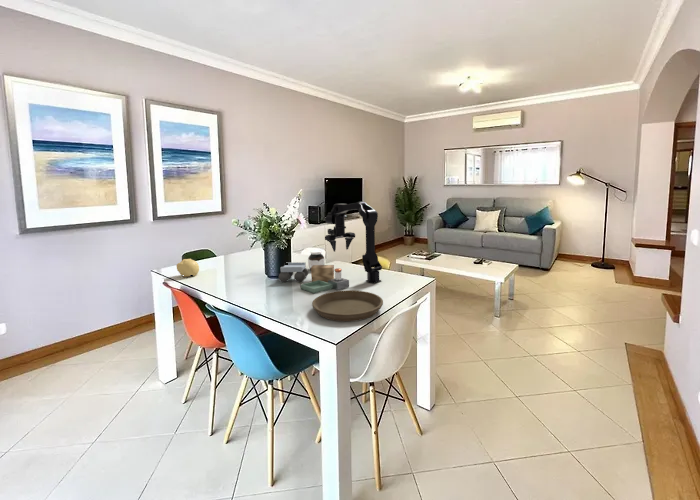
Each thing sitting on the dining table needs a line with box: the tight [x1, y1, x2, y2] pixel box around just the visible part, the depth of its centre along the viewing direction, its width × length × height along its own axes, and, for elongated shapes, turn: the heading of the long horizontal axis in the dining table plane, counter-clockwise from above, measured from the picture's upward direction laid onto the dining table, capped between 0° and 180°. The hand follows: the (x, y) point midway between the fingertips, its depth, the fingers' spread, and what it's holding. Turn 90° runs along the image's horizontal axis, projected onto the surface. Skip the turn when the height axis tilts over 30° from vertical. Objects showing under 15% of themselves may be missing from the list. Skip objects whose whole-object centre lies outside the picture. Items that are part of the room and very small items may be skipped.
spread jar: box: [307, 249, 326, 270], centre depth 236 cm, size 12×11×12 cm
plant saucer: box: [311, 289, 384, 322], centre depth 162 cm, size 31×31×5 cm
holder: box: [328, 277, 350, 291], centre depth 197 cm, size 8×8×4 cm
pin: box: [334, 267, 342, 281], centre depth 196 cm, size 4×4×10 cm
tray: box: [300, 280, 334, 295], centre depth 195 cm, size 12×12×2 cm
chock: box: [310, 264, 335, 283], centre depth 208 cm, size 12×6×9 cm, turn 85°
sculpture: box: [176, 258, 200, 278], centre depth 229 cm, size 11×12×11 cm
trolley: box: [278, 262, 309, 283], centre depth 214 cm, size 15×12×9 cm
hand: (340, 250), depth 223 cm, fingers open, 9 cm apart
